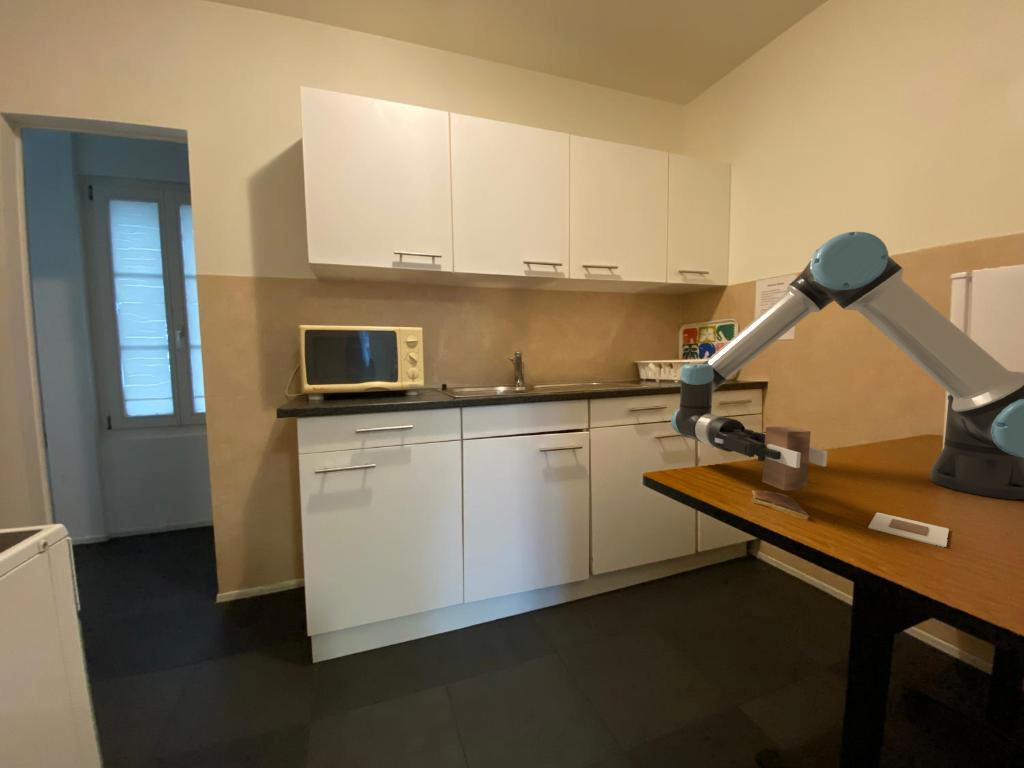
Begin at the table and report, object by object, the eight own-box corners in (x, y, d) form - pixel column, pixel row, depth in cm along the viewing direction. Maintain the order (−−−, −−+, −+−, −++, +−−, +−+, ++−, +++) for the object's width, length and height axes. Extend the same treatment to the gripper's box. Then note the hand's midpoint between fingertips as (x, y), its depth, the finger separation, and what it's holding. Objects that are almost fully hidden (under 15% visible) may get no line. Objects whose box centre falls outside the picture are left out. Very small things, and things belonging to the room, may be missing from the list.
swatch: (948, 530, 67) (948, 527, 67) (946, 547, 61) (946, 544, 61) (876, 513, 74) (876, 511, 74) (868, 528, 68) (868, 525, 68)
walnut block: (783, 480, 81) (787, 426, 80) (806, 488, 76) (810, 431, 75) (762, 481, 80) (765, 426, 79) (783, 490, 75) (787, 432, 74)
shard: (809, 524, 71) (810, 514, 71) (759, 518, 73) (760, 508, 73) (789, 501, 81) (789, 493, 81) (746, 497, 84) (746, 488, 83)
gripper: (753, 446, 97) (851, 477, 74) (685, 449, 93) (767, 483, 70) (754, 415, 96) (854, 437, 73) (687, 417, 92) (769, 441, 70)
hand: (811, 459), depth 72 cm, fingers closed on walnut block, 5 cm apart
